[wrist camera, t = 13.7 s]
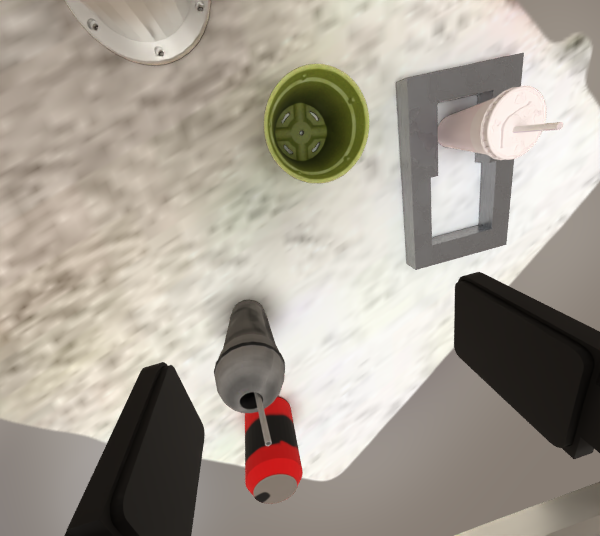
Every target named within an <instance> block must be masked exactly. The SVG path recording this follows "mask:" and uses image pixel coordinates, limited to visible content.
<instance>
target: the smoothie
mask: <svg viewBox="0 0 600 536" xmlns="http://www.w3.org/2000/svg"><path fill="white" fill-rule="evenodd" d="M545 121H546V103H545V100H544V98H543V96H542V94H541V93H540V92H539V91H538V90H537V89H535V88H533V87H530V86H521V87H514V88H510V89H508V90H505V91H503V92H502V93H501V94H499V95H498V96H497V97H496V98H493V99H490V100H488V101H485V102H483V103H480V104H478V105H475V106H472V107H470V108H467V109H465V110H462V111H459V112H457V113H454V114H452V115H449V116H447V117H445V118H444V119H443V120H442V121H441V122H440V124H439V126H438V142H439V144H440V145H442V146H443V147H447V148H453V149H458V150H464V151H470V152H475V153H481V154H486V155H488V156H490V157H492V158H493V159H497V160H510V159H515V158H518V157H520V156H522V155H524V154H525V153H526V152H528V151H529V150H530V149H531V148H532V147H533V146H534V144H535V143H536V142H537V140H538V139H539V137H540V135H541V133H542V131H548V130H560V129H561V128H562V127H563V123H562V122H557V123H547V124H545Z"/></svg>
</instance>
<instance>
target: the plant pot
mask: <svg viewBox="0 0 600 536" xmlns="http://www.w3.org/2000/svg"><path fill="white" fill-rule="evenodd" d="M309 112H313V113H315V114H316V115H317V117H318V119H319V120H318V121H316V119H315V118H314V117H313V116H312V115H311V114H310V113H309ZM287 113H290V115H289V116H288V117H287V119H286V120H285V121H284V123H283V124H282V122H281V121H282V120H283V118H284V116H285V114H287ZM301 130H302V131H304V134H303V135H300V133H299V132H300V131H301ZM368 133H369V113H368V108H367V104H366V101H365V98H364V96H363V94H362V92H361V90H360V89H359V87H358V86H357V84H356V83H355V82H354V81H353V80H352V79H351V78H350V77H349V76H348V75H347V74H346V73H344V72H343V71H341V70H339V69H337V68H335V67H332V66H329V65H325V64H309V65H304V66H301V67H299V68H296V69H294V70H293V71H291V72H290V73H288V74H287V75H286V76H284V77H283V78H282V79H281V80H280V81H279V83H278V84H277V85H276V87H275V88H274V90H273V91H272V93H271V95H270V97H269V100H268V102H267V106H266V109H265V114H264V134H265V140H266V143H267V146H268V149H269V151H270V153H271V155H272V157H273V159H274V160H275V161H276V163H277V164H278V165H279V166H280V167H281V168H282V169H283V170H284V171H285V172H286V173H288V174H289V175H290V176H292V177H294V178H296V179H298V180H301V181H304V182H308V183H326V182H330V181H333V180H335V179H337V178H339V177H341V176H343V175H344V174H346V173H347V172H348V171H349V170H350V169H351V168H352V167H353V166H354V165H355V164H356V162H357V161H358V160H359V158H360V156H361V155H362V153H363V150H364V148H365V145H366V142H367V138H368ZM318 142H320V145H319V147H318V148H317V150H316V151H315V152H312V150H313V149H314V148H315V147H316V145H317V144H318ZM284 145H286V146H287V147H288V148H289V149H290V150H291V151H292V152H293V154H289V153H288V152H287V151H286V150H285V148H284Z"/></svg>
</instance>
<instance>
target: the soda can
mask: <svg viewBox="0 0 600 536" xmlns="http://www.w3.org/2000/svg"><path fill="white" fill-rule="evenodd" d="M264 412H265V416H266V420H267V424H268V429H269V433H270V437H271V442H272V443H271V445H269V446H266V445H265V441H264V436H263V432H262V427H261V422H260V418H259V413H258V412H254V413H245V470H246V471H245V472H246V478H245V479H246V487H247V488H248V490H249V491H250V492H251V494H252V495H253V496H254V497H255V499H256V500H258V501H259V502H262V503H266V504H273V503H278V502H281V501H284V500H286V499H288V498H289V497H291V495H293V494H294V492H295V491H296V489H297V486H298V484H299V482H300V480H301V478H302V473H303V472H302V466H301V461H300V456H299V450H298V445H297V440H296V434H295V429H294V424H293V418H292V413H291V408H290V405H289V404H288V402H287V401H285V400H284V399H282V398H280V397H277V398H276V399H275V400H274V402H273V403H272V404H270V405H269V406H268V407H266V408H265V409H264Z"/></svg>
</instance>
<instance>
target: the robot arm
mask: <svg viewBox="0 0 600 536" xmlns="http://www.w3.org/2000/svg"><path fill="white" fill-rule="evenodd" d="M65 2H66V4H67V6H68V7H69V9H70V10H71V12H72V13H73V15H74V16H75V17H76V19H77V20H78V22H79V23H80V24H81V25H82V26H83V27H84V28H85V29H86V30H87V32H88V33H89V34H90V35H91V36H92V37H94V38H95V39H96V40H97V41H98V42H99V43H101V44H102V45H103V46H105V47H106V48H107V49H109V50H110V51H112V52H113V53H115V54H117V55H119V56H121V57H123V58H125V59H127V60H129V61H133V62H136V63H140V64H146V65H161V64H168V63H171V62H173V61H176V60H179V59H180V58H182V57H183V56H185V55H186V54H188V53H189V52H190V51H191V50H192V49H193V48H194V47H195V45H196V44H197V43H198V42H199V40H200V38H201V36H202V35H203V33H204V31H205V28H206V25H207V22H208V19H209V12H210V5H211V0H65ZM199 7H202V8H203V11H202V12H199V11H198V8H199ZM96 25H98V30H96V31H95V26H96ZM161 51H162V52H163V53H164V55H163V56H162V57H160V56H159V52H161ZM454 348H455V351H456V353H457V355H458V356H459V357H460V358H461V359H462V360H463V361H464V362H465V363H466V364H467V365H468V366H469V367H470V368H471V369H472V370H474V371H475V372H476V373H477V374H478V375H479V376H480V377H481V378H482V379H483V380H484V381H485V382H486V383H487V384H488V385H489V386H491V387H492V388H493V389H494V390H495V391H496V392H497V393H498V394H499V395H500V396H501V397H502V398H503V399H504V400H505V401H507V402H508V403H509V404H510V405H511V406H512V407H513V408H514V409H515V410H516V411H517V412H518V413H519V414H520V415H521V416H523V418H525V419H526V420H527V421H528V422H529V423H530V424H531V425H532V426H533V427H534V428H535V429H536V430H537V431H538V432H539V433H541V434H542V435H543V436H544V437H545V438H546V439H547V440H548V441H549V442H550V443H552V444H553V445H554V446H556V447H559V448H562V449H563V450H564V451H565V452H567V453H568V454H569V455H570V456H571V457H572V458H573V459H576V458H579V457H582V456H584V455H587V454H590V453H592V452H593V450H594V449H596V450H597V451H598V452H599V453H600V332H599V331H597V330H595V329H593V328H591V327H589V326H587V325H585V324H583V323H581V322H579V321H577V320H575V319H573V318H571V317H569V316H567V315H565V314H563V313H561V312H559V311H557V310H555V309H553V308H551V307H549V306H547V305H545V304H543V303H541V302H539V301H537V300H535V299H533V298H531V297H529V296H527V295H525V294H523V293H521V292H519V291H517V290H515V289H513V288H511V287H509V286H507V285H505V284H503V283H501V282H499V281H497V280H495V279H493V278H491V277H489V276H487V275H485V274H483V273H480V272H476V273H473V274H469V275H466V276H462V277H460V279H459V281H458V283H456V285H455V321H454ZM203 444H204V427H203V424H202V422H201V420H200V418H199V416H198V414H197V412H196V410H195V408H194V406H193V404H192V402H191V400H190V398H189V396H188V394H187V392H186V390H185V388H184V386H183V384H182V382H181V380H180V378H179V376H178V374H177V372H176V370H175V368H174V367H173V366H172V365H169V366H167V364H166V363H164V362H162V363H159V364H155V365H152V366H148V367H145V368H143V369H142V370H141V372H140V374H139V376H138V379H137V381H136V383H135V385H134V387H133V389H132V391H131V394H130V396H129V398H128V400H127V402H126V404H125V406H124V409H123V411H122V413H121V415H120V417H119V419H118V421H117V424H116V426H115V428H114V430H113V432H112V434H111V436H110V439H109V441H108V443H107V445H106V447H105V449H104V451H103V454H102V456H101V458H100V460H99V462H98V465H97V466H96V469H95V471H94V473H93V475H92V477H91V480H90V482H89V484H88V486H87V488H86V490H85V492H84V494H83V496H82V499H81V501H80V503H79V505H78V507H77V509H76V511H75V514H74V516H73V518H72V520H71V522H70V524H69V526H68V529H67V532H66V534H65V536H191V532H192V525H193V518H194V510H195V502H196V495H197V487H198V480H199V473H200V466H201V459H202V451H203ZM455 536H600V482H598V483H595V484H592V485H590V486H587V487H584V488H581V489H579V490H576V491H573V492H571V493H568V494H565V495H562V496H560V497H557V498H554V499H551V500H549V501H546V502H544V503H541V504H538V505H535V506H532V507H530V508H527V509H525V510H522V511H519V512H516V513H514V514H511V515H508V516H505V517H503V518H500V519H498V520H495V521H492V522H489V523H487V524H484V525H481V526H479V527H476V528H473V529H471V530H468V531H465V532H463V533H460V534H457V535H455Z"/></svg>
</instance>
